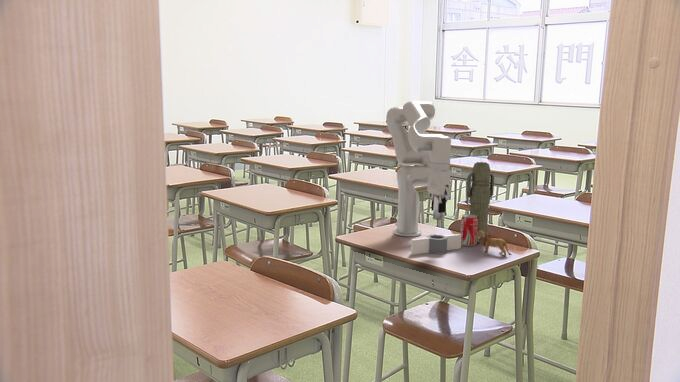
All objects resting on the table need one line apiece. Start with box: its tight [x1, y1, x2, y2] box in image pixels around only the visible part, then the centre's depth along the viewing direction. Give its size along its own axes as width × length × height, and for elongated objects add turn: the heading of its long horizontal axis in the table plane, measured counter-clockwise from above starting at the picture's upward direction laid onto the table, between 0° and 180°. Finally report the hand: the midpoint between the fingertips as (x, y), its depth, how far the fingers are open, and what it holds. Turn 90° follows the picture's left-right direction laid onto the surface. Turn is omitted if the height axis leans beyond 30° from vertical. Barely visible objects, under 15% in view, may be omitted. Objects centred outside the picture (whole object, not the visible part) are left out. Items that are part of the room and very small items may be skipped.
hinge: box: [410, 233, 462, 256], centre depth 234 cm, size 8×24×6 cm, turn 116°
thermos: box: [466, 161, 495, 245], centre depth 249 cm, size 9×12×35 cm
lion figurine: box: [476, 231, 513, 258], centre depth 232 cm, size 15×5×9 cm, turn 61°
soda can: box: [459, 213, 478, 248], centre depth 244 cm, size 7×7×13 cm
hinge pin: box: [432, 195, 444, 221], centre depth 232 cm, size 4×4×10 cm
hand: (438, 210), depth 232 cm, fingers closed on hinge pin, 4 cm apart
